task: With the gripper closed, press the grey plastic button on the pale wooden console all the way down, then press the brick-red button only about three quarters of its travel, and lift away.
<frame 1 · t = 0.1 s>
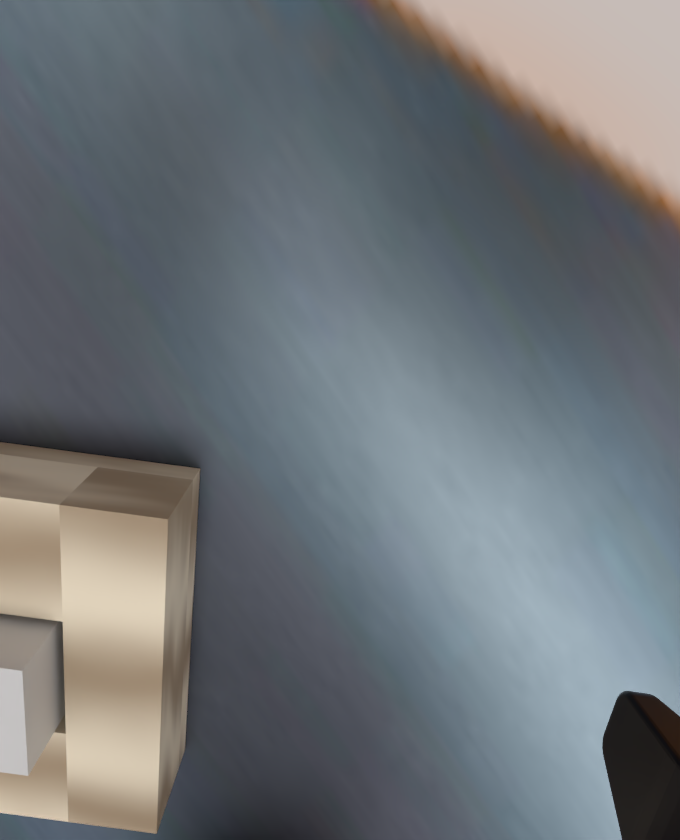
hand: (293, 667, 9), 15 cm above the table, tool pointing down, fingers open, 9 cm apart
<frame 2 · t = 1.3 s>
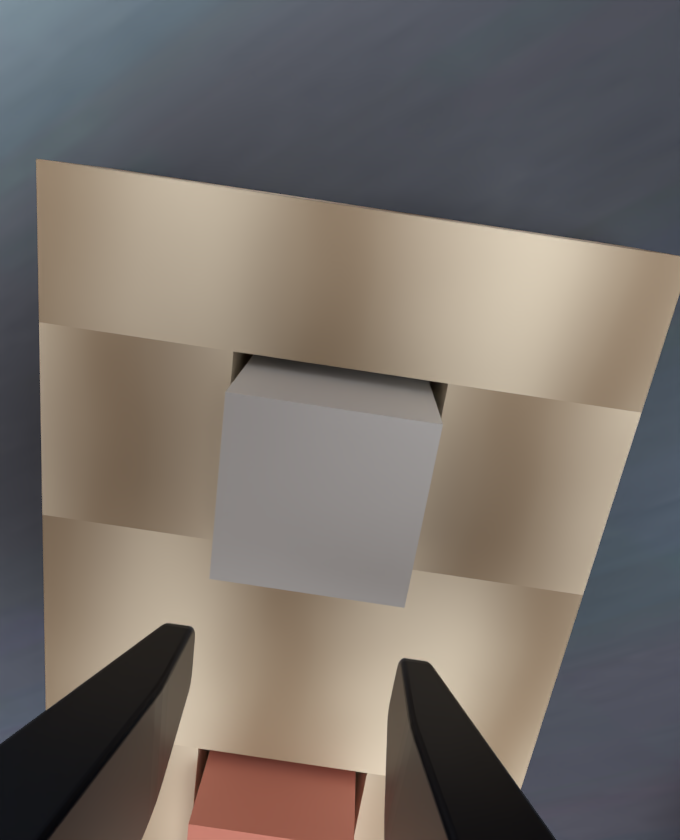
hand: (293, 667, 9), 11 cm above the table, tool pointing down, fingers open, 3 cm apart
button red: (272, 832, 19), point 4 cm above the table, slide at 0.0 cm
button grey: (325, 472, 15), point 4 cm above the table, slide at 0.0 cm
console: (310, 581, 21), on the table
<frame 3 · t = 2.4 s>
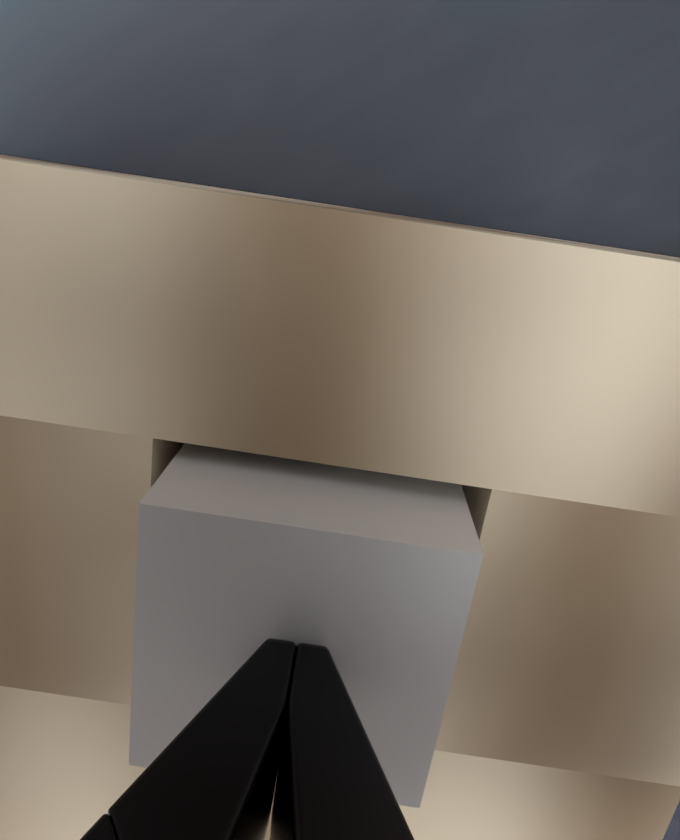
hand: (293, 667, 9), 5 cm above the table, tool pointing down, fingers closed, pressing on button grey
button grey: (303, 593, 10), point 4 cm above the table, slide at 0.7 cm, touching gripper
console: (289, 709, 16), on the table
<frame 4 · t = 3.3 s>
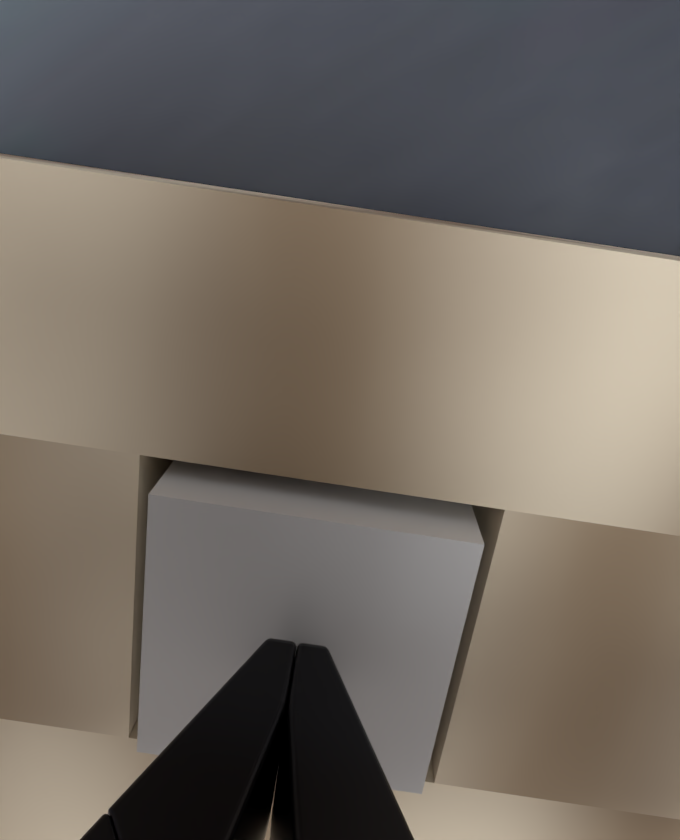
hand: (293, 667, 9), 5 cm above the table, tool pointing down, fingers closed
button grey: (308, 585, 11), point 3 cm above the table, slide at 1.6 cm, touching console
console: (287, 730, 15), on the table
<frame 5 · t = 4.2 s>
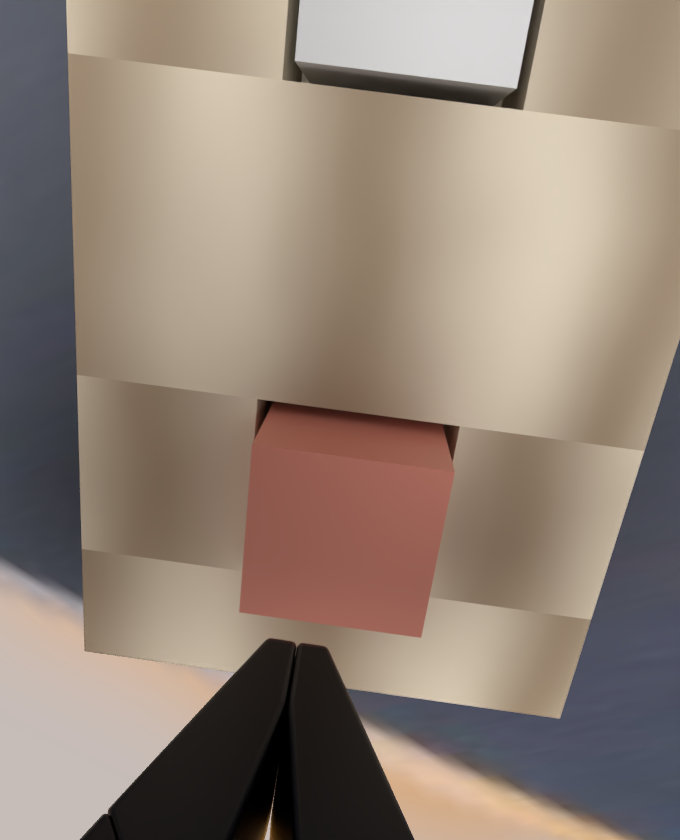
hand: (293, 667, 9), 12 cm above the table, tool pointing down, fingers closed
button red: (345, 509, 16), point 4 cm above the table, slide at 0.0 cm
console: (379, 251, 18), on the table
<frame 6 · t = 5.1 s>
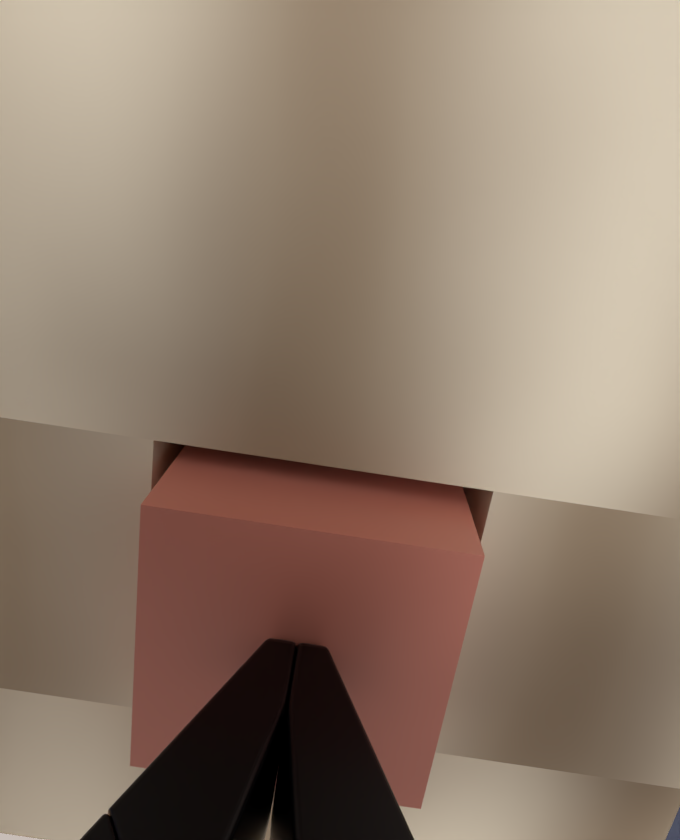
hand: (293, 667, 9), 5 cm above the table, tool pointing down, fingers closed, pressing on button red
button red: (305, 594, 10), point 4 cm above the table, slide at 0.7 cm, touching gripper
console: (363, 210, 12), on the table
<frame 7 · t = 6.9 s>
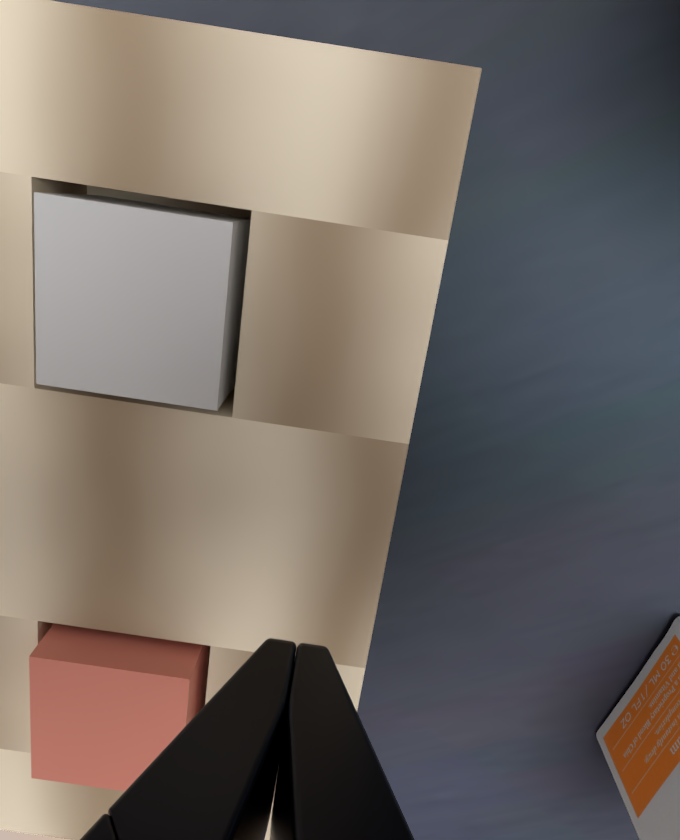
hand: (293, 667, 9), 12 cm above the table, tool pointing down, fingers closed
button red: (129, 686, 19), point 3 cm above the table, slide at 1.0 cm
button grey: (154, 296, 16), point 3 cm above the table, slide at 1.6 cm, touching console
console: (171, 467, 21), on the table
skincare box: (677, 689, 23), on the table
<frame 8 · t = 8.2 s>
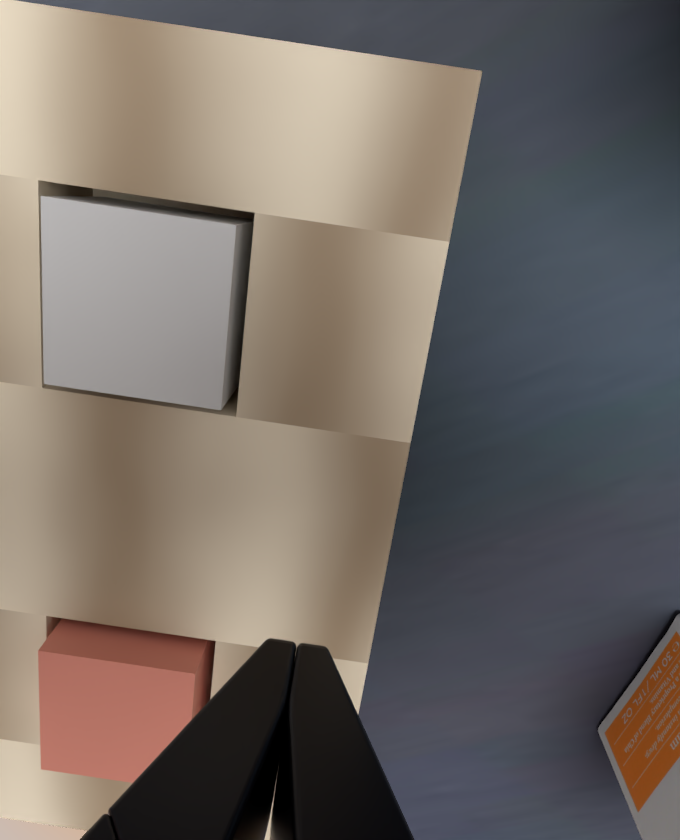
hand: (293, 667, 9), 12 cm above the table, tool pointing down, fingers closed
button red: (136, 679, 20), point 3 cm above the table, slide at 1.0 cm
button grey: (159, 297, 16), point 3 cm above the table, slide at 1.6 cm, touching console
console: (177, 465, 21), on the table
skincare box: (679, 685, 23), on the table
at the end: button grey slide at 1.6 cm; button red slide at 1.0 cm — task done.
